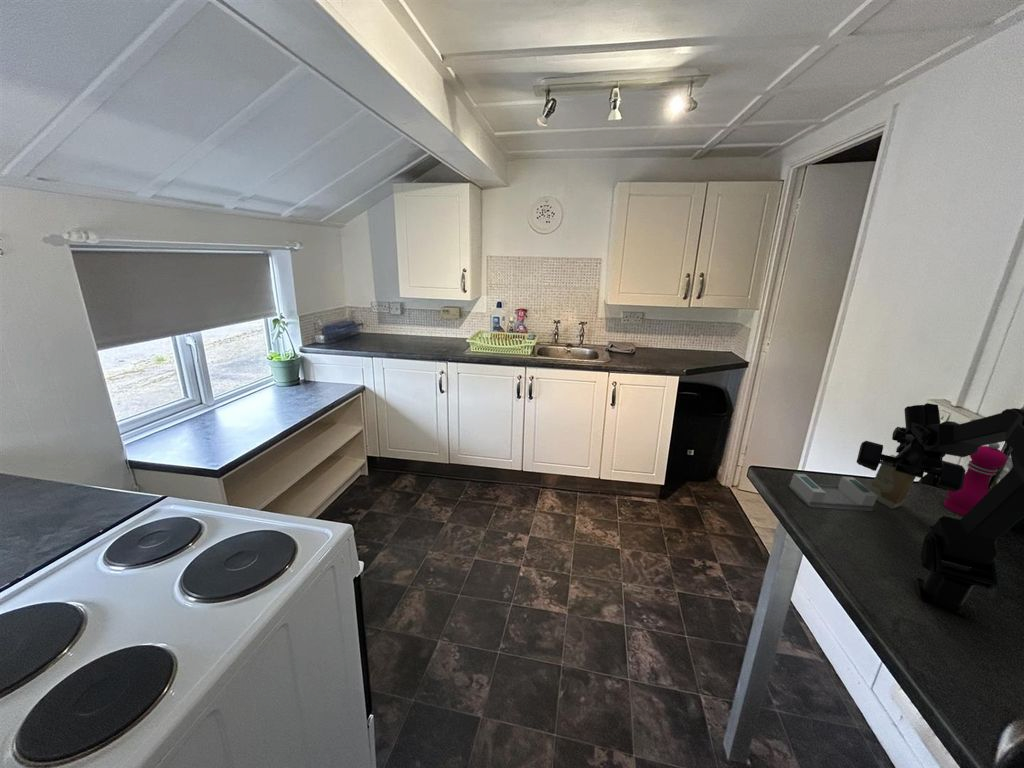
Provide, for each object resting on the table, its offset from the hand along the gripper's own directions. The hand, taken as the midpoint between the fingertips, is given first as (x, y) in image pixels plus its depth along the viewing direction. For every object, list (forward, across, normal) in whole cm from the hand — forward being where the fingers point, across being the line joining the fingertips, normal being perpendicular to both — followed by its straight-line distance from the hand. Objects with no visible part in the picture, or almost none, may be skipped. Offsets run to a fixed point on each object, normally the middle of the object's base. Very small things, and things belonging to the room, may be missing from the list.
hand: (896, 475), depth 106 cm
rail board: (0, +12, +12) cm, 17 cm away
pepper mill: (+13, -16, -1) cm, 21 cm away
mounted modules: (0, +12, +12) cm, 17 cm away
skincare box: (+6, 0, +6) cm, 9 cm away
